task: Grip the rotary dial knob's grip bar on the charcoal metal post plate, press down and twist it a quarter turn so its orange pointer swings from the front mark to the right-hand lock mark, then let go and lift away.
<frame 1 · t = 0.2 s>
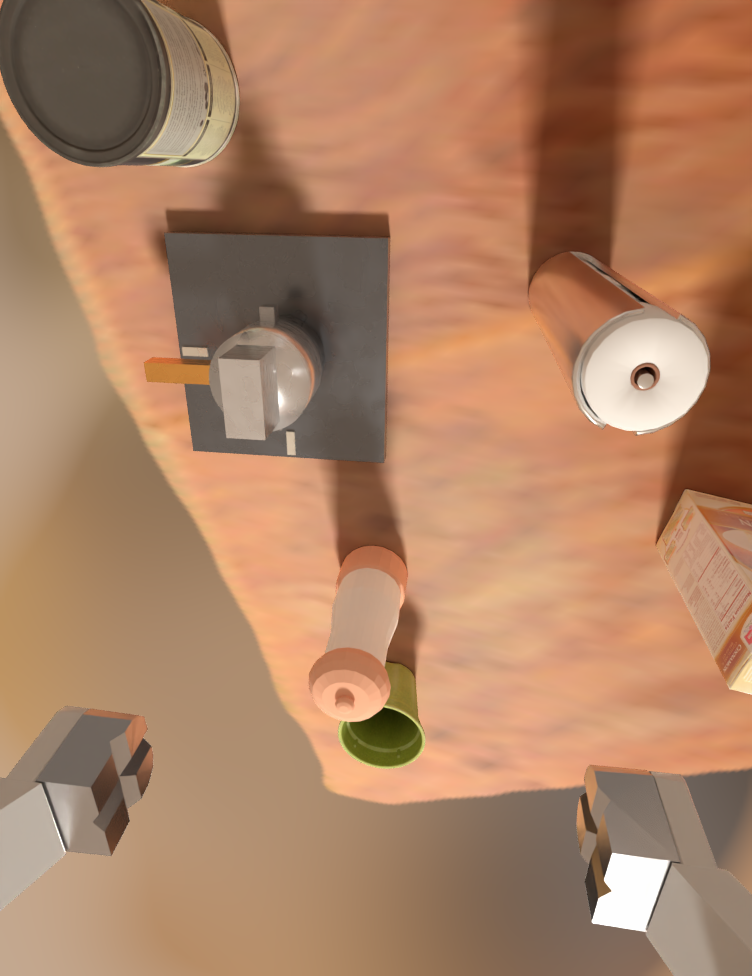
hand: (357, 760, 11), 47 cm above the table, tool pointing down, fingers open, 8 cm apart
pepper shaker: (374, 572, 67), on the table
thermos flask: (567, 292, 52), on the table
post plate: (290, 351, 57), on the table
coffeecake box: (743, 534, 60), on the table
plant pot: (389, 678, 74), on the table
coffee can: (179, 95, 49), on the table
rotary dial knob: (223, 380, 49), point 10 cm above the table, hinge at 0.0°
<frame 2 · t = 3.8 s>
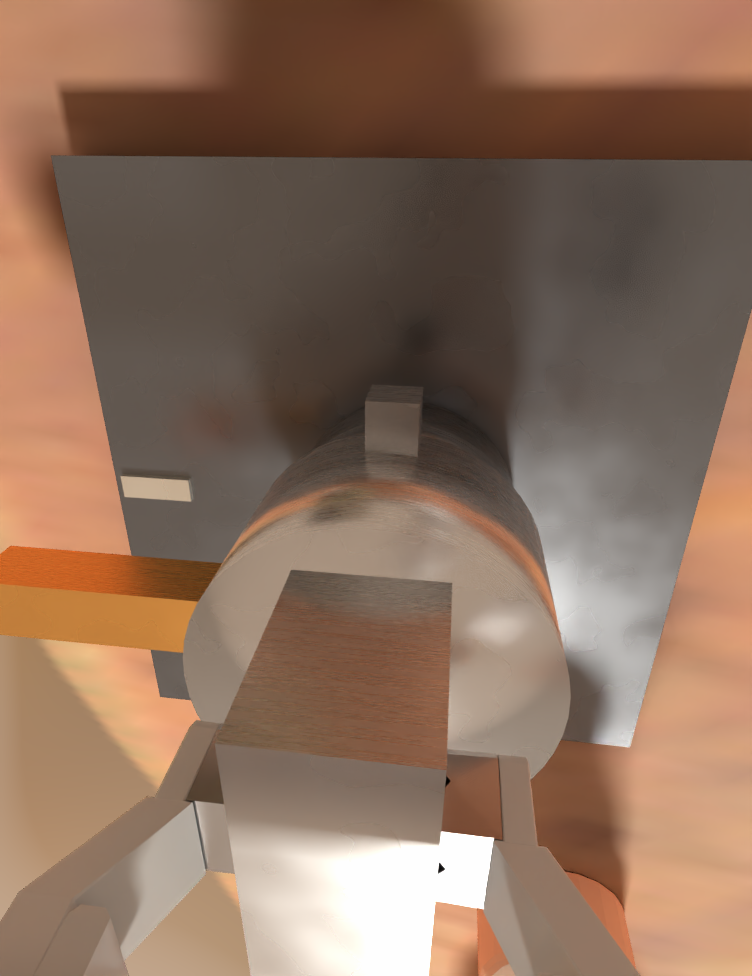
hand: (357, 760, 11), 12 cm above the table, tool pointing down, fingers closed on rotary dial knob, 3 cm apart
pepper shaker: (548, 908, 32), on the table
post plate: (408, 483, 22), on the table
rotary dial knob: (235, 670, 13), point 10 cm above the table, hinge at 0.0°, touching gripper
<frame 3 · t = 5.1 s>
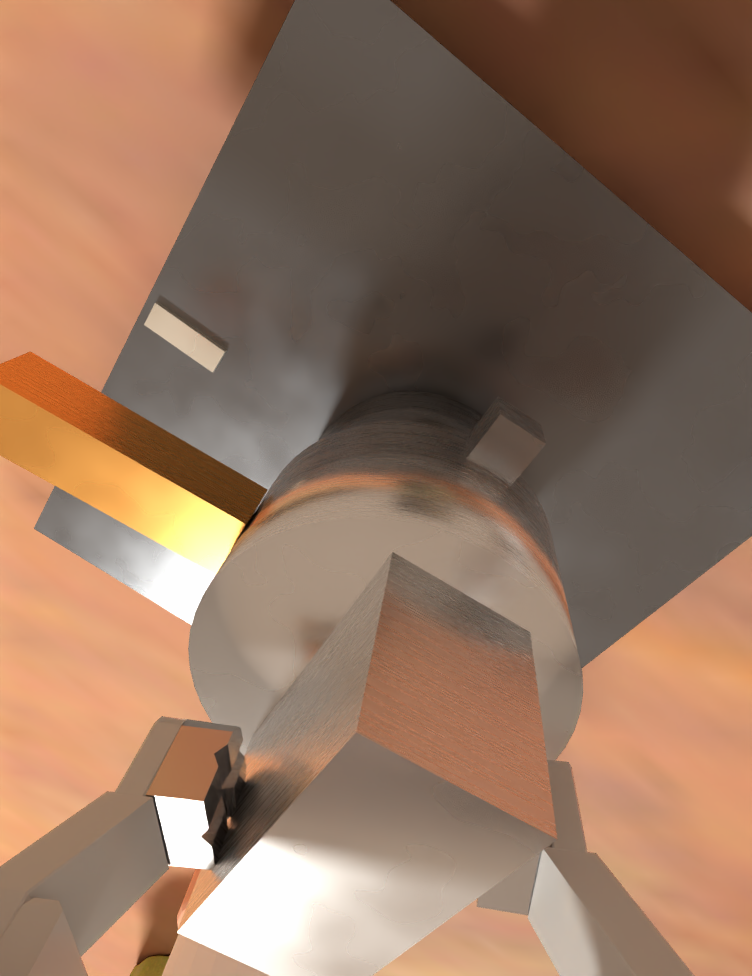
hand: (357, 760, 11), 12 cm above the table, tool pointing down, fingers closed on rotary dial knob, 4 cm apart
pepper shaker: (268, 865, 34), on the table
post plate: (415, 474, 21), on the table
plant pot: (180, 975, 41), on the table
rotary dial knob: (254, 607, 12), point 10 cm above the table, hinge at 4.4°, touching gripper
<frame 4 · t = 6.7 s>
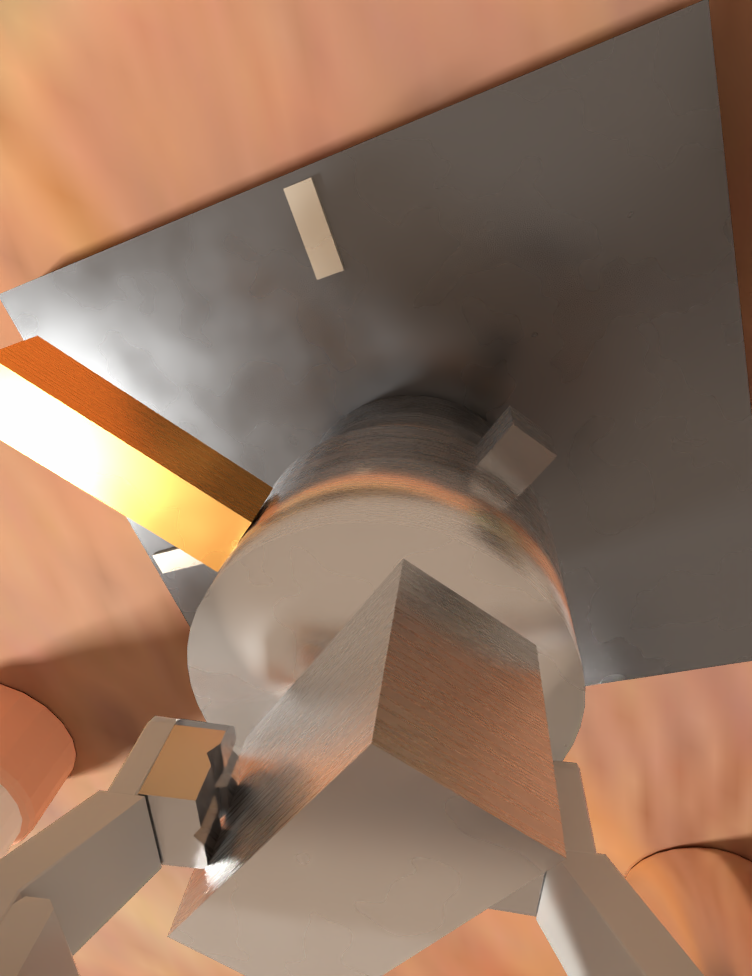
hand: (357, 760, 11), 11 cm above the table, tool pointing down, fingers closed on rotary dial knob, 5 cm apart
pepper shaker: (9, 732, 31), on the table
thermos flask: (692, 885, 29), on the table
post plate: (416, 478, 21), on the table
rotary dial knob: (257, 607, 12), point 10 cm above the table, hinge at 36.5°, touching gripper
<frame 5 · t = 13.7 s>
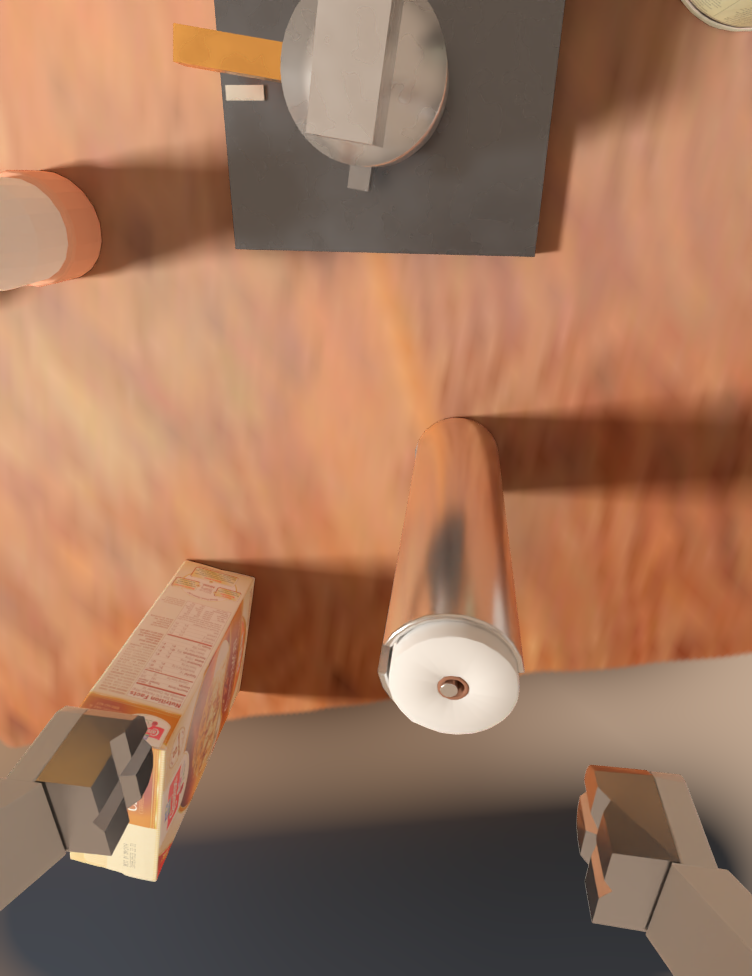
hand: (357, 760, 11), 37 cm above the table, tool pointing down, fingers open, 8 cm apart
pepper shaker: (55, 226, 45), on the table
thermos flask: (456, 454, 49), on the table
post plate: (386, 95, 38), on the table
coffeecake box: (214, 627, 60), on the table
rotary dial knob: (302, 62, 30), point 10 cm above the table, hinge at 81.5°
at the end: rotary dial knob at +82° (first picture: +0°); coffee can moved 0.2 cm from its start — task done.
